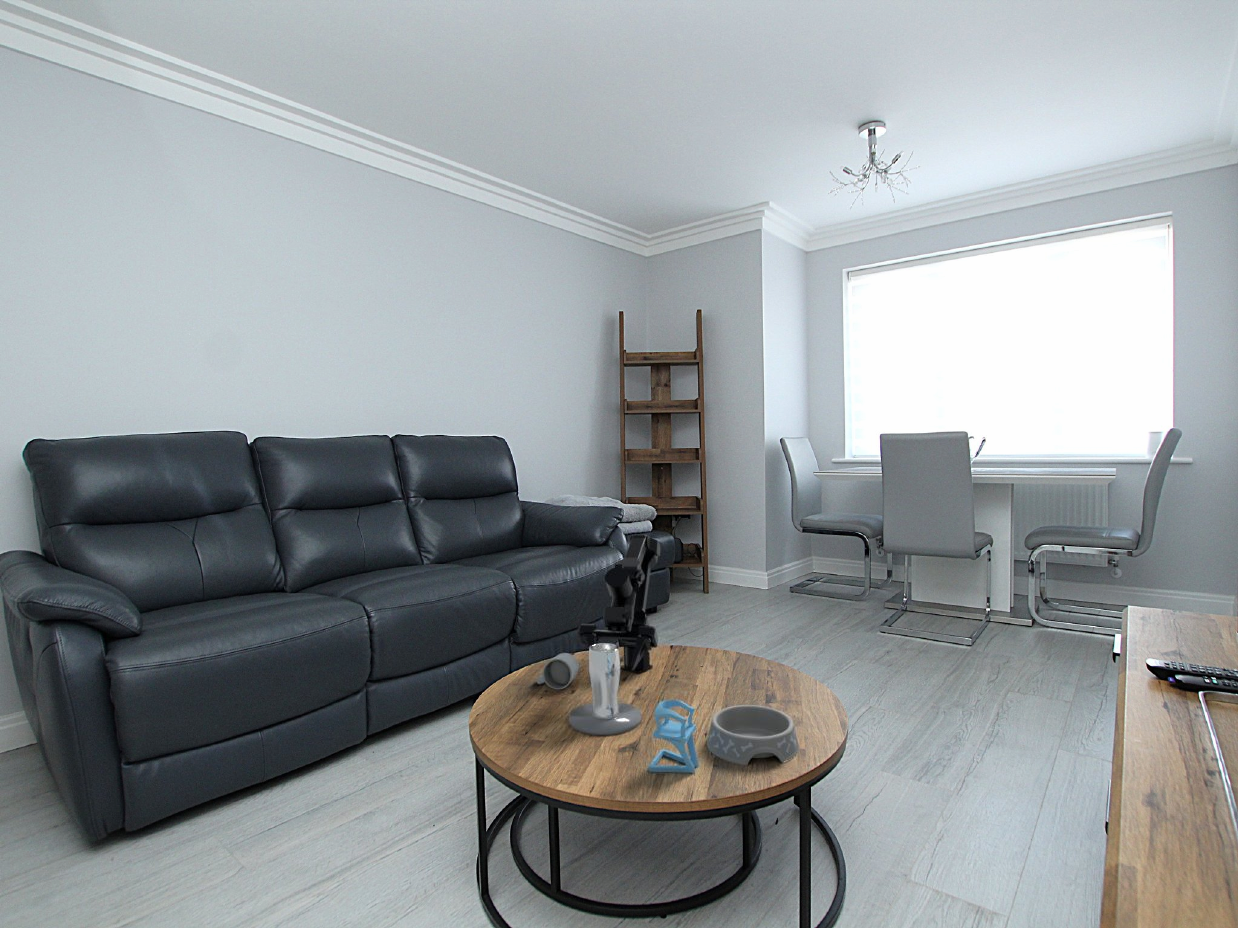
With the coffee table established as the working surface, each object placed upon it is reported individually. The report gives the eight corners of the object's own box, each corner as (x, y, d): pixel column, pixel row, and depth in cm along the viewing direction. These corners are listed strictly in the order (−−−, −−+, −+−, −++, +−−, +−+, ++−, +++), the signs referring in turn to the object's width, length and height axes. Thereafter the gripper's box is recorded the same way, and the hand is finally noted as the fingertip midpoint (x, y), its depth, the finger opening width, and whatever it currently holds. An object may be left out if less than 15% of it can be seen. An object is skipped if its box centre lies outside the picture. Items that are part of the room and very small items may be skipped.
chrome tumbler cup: (612, 722, 147) (610, 653, 146) (584, 717, 150) (582, 649, 150) (626, 711, 153) (625, 644, 153) (599, 706, 156) (597, 641, 156)
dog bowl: (812, 763, 130) (812, 735, 129) (716, 769, 128) (716, 740, 128) (783, 726, 147) (783, 701, 146) (699, 730, 145) (698, 705, 145)
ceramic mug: (581, 679, 178) (579, 649, 177) (572, 690, 170) (570, 659, 169) (542, 677, 180) (540, 648, 180) (531, 688, 172) (530, 658, 172)
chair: (690, 779, 124) (690, 714, 124) (647, 771, 127) (646, 707, 127) (702, 760, 131) (701, 698, 131) (661, 753, 134) (660, 693, 134)
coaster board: (553, 721, 151) (553, 717, 151) (604, 700, 163) (604, 696, 163) (606, 742, 140) (606, 737, 140) (656, 717, 152) (656, 713, 152)
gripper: (578, 590, 165) (566, 649, 155) (654, 592, 161) (647, 653, 151) (588, 614, 173) (577, 672, 163) (661, 617, 169) (654, 676, 159)
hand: (612, 668), depth 159 cm, fingers open, 9 cm apart
